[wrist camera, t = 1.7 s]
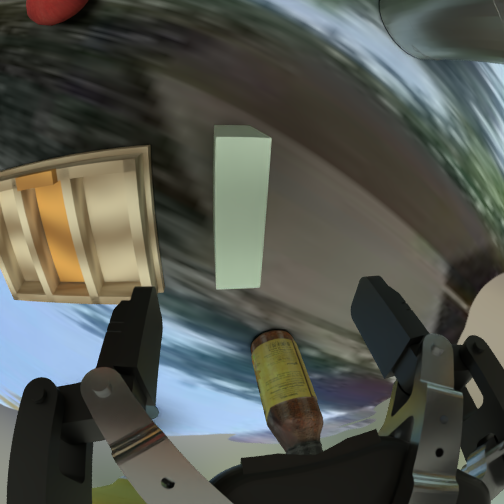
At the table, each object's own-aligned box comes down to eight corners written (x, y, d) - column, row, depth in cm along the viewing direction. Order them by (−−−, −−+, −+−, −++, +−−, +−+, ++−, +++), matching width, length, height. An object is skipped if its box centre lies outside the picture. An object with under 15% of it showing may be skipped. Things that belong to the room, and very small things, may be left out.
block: (214, 124, 21) (215, 136, 13) (249, 125, 22) (271, 138, 14) (213, 230, 26) (216, 289, 19) (244, 229, 27) (259, 287, 19)
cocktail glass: (121, 426, 47) (117, 523, 25) (69, 385, 37) (48, 504, 16) (192, 421, 47) (201, 532, 25) (146, 378, 37) (142, 530, 16)
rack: (-8, 173, 18) (-31, 187, 14) (150, 144, 21) (138, 153, 17) (24, 285, 26) (10, 307, 22) (164, 286, 29) (160, 313, 25)
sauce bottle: (239, 346, 35) (264, 489, 18) (273, 320, 34) (318, 473, 17) (272, 362, 38) (304, 487, 21) (304, 339, 36) (351, 469, 20)
